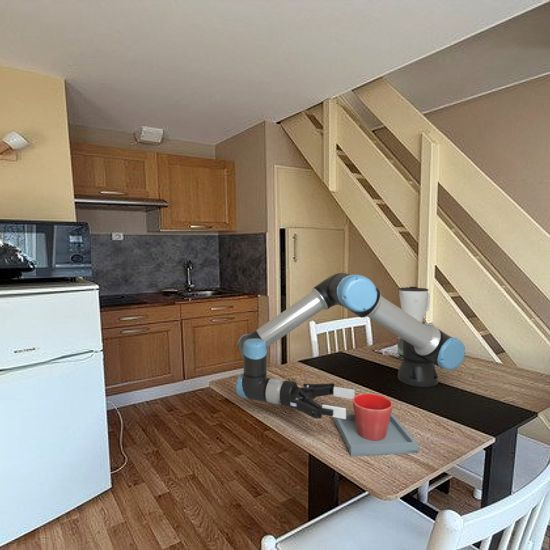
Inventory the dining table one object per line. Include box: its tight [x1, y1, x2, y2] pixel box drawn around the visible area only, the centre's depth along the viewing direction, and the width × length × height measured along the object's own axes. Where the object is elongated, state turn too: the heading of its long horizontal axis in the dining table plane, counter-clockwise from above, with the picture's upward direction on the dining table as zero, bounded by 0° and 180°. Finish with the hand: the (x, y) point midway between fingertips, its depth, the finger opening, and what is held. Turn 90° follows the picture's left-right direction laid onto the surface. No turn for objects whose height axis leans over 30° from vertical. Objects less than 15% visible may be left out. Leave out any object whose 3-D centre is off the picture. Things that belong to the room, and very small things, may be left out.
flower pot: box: [352, 393, 394, 441], centre depth 100 cm, size 11×11×10 cm
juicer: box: [397, 286, 431, 358], centre depth 171 cm, size 19×13×35 cm
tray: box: [334, 412, 419, 457], centre depth 100 cm, size 18×18×2 cm
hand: (350, 403), depth 102 cm, fingers open, 13 cm apart
